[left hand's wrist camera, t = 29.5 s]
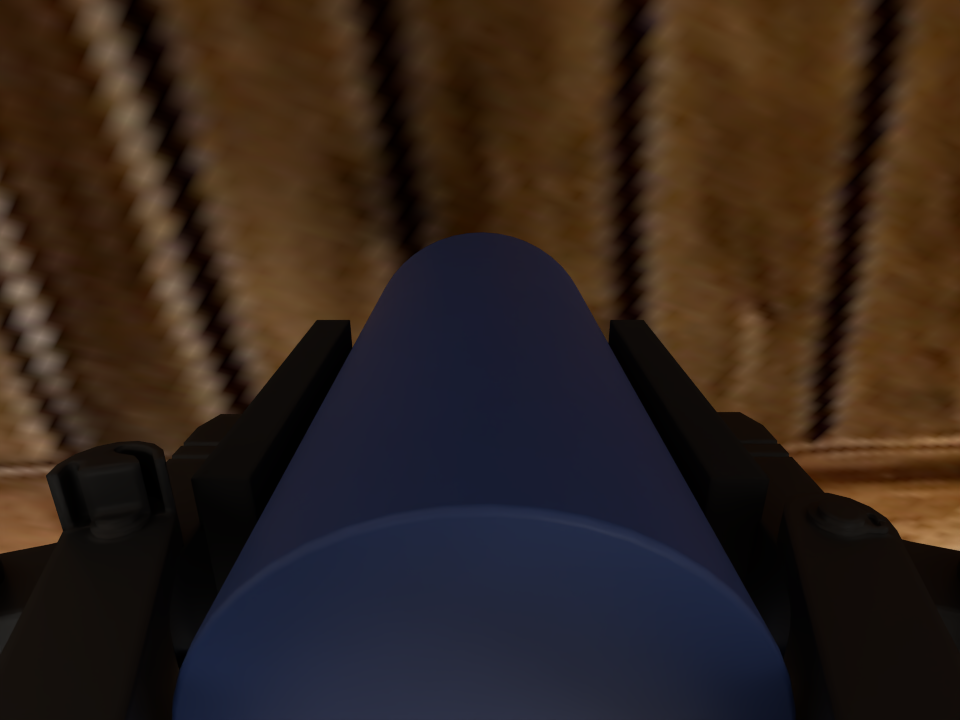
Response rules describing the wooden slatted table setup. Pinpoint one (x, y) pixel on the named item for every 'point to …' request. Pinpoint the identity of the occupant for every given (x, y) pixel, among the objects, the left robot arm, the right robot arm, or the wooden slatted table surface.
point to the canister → (482, 531)
